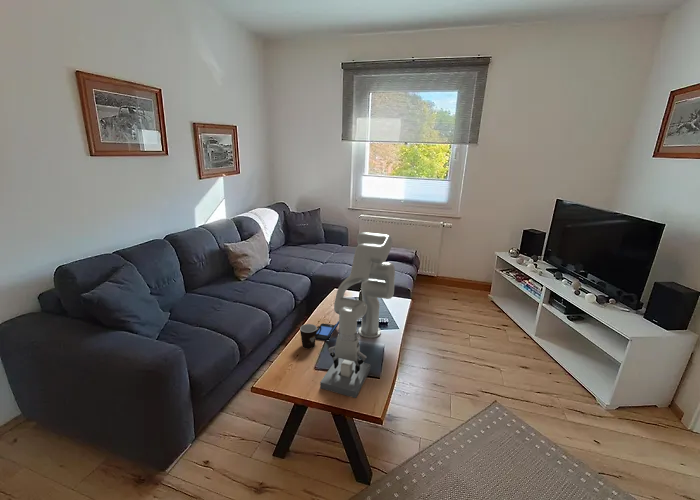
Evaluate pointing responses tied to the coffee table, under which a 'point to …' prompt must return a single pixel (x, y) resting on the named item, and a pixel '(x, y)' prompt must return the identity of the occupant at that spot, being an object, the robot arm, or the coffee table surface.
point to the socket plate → (345, 380)
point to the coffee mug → (309, 335)
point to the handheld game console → (326, 331)
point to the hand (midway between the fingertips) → (346, 369)
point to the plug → (346, 368)
